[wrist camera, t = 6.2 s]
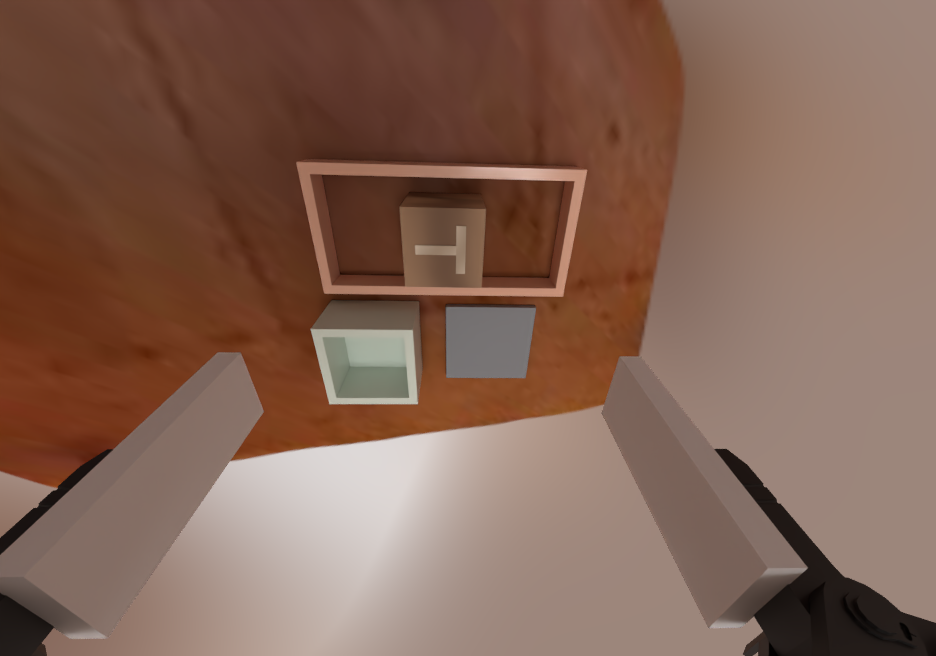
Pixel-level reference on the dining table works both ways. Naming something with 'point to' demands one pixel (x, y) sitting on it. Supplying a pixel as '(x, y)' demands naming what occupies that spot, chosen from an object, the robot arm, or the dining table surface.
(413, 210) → the letter cube
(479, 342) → the slate coaster
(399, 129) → the dining table surface
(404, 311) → the mint green open box
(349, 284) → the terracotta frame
